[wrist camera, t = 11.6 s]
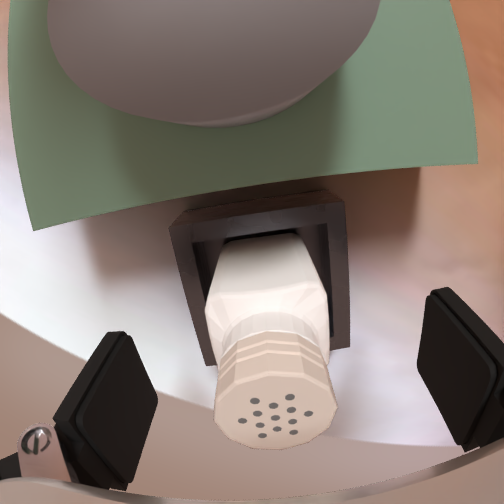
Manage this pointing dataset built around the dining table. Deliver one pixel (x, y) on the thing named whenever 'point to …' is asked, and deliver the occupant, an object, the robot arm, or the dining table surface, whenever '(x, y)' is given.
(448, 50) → the green slab with dome
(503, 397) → the robot arm
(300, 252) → the pepper shaker
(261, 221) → the dark brown square tray
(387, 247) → the dining table surface
